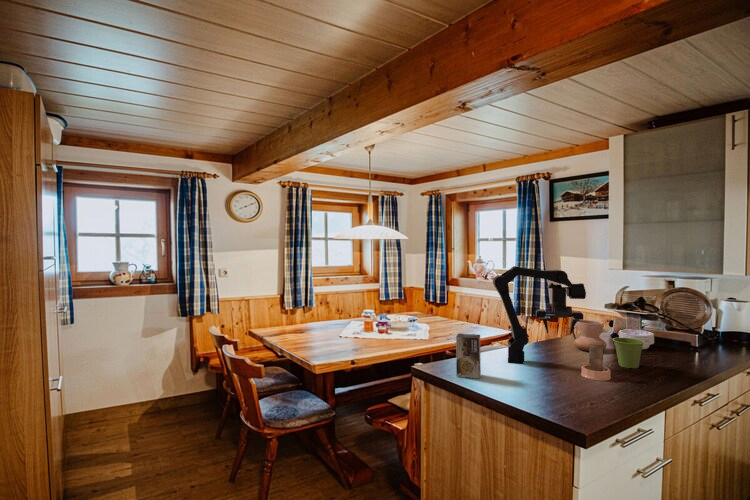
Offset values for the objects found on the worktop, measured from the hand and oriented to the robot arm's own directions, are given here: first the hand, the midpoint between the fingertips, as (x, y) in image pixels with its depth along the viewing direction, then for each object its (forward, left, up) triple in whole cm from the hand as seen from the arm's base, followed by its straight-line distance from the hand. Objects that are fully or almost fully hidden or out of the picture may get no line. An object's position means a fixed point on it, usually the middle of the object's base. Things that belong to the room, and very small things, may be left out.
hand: (558, 334), depth 182 cm
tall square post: (+12, -15, -12) cm, 23 cm away
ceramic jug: (+17, +32, -13) cm, 39 cm away
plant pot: (+28, +5, -13) cm, 31 cm away
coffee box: (-36, -30, -13) cm, 49 cm away
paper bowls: (+41, +45, -13) cm, 62 cm away
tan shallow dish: (+12, -15, -13) cm, 23 cm away
